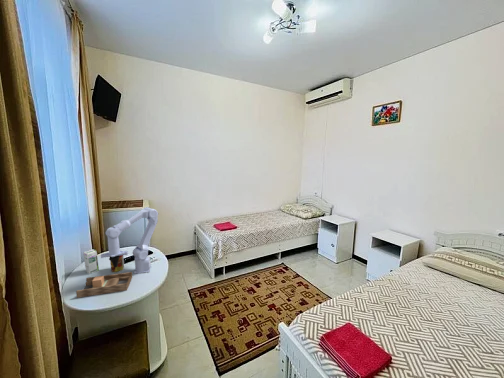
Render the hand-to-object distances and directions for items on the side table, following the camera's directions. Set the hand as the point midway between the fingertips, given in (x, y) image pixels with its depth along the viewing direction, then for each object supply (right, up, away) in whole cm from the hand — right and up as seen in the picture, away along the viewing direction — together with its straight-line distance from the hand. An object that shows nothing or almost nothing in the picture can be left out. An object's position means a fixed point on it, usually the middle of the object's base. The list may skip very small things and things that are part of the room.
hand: (115, 266), depth 137 cm
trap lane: (-2, -10, -5) cm, 12 cm away
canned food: (-8, -7, +15) cm, 18 cm away
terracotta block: (-6, -9, -7) cm, 12 cm away
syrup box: (-24, -8, +12) cm, 28 cm away
